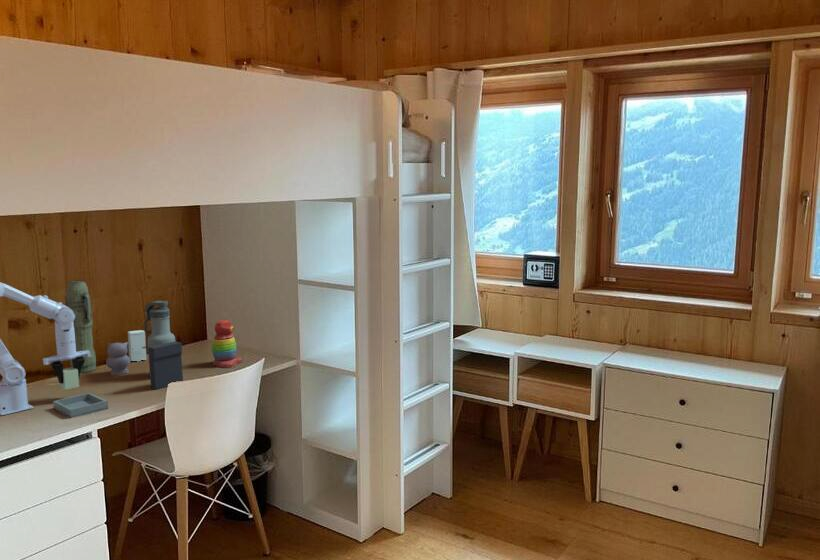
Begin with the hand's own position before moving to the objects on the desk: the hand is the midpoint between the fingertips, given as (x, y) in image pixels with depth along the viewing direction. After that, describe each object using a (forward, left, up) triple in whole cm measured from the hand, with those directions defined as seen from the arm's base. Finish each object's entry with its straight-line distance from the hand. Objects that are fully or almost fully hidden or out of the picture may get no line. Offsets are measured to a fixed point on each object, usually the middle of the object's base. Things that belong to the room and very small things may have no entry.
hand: (69, 381), depth 232 cm
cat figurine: (+25, +18, -6) cm, 32 cm away
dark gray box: (+29, -11, -6) cm, 32 cm away
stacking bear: (+59, -2, -6) cm, 59 cm away
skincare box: (+39, +31, -6) cm, 50 cm away
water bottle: (+35, +3, -6) cm, 36 cm away
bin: (-2, -13, -6) cm, 15 cm away
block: (0, 0, -2) cm, 2 cm away
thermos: (+18, +33, -6) cm, 38 cm away
